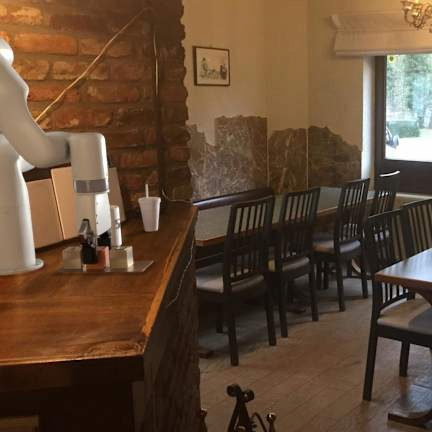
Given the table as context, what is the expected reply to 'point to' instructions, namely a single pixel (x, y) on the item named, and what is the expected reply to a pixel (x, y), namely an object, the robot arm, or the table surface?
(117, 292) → the table surface
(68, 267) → the tile
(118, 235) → the candle
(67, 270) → the letter board
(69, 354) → the table surface
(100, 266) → the three-striped orange cube
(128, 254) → the tile
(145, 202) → the smoothie
